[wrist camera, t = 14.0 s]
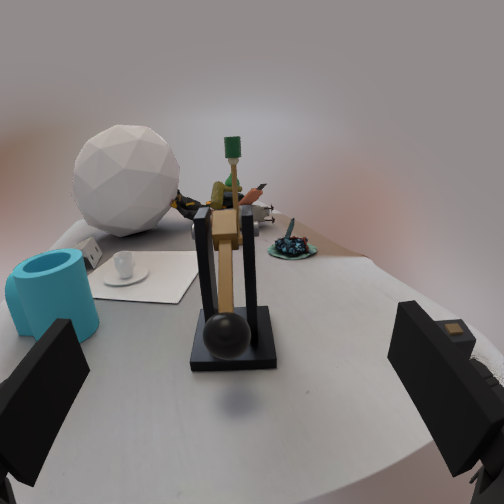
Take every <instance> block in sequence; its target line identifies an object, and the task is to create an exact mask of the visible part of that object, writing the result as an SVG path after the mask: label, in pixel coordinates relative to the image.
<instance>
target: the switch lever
mask: <svg viewBox="0 0 504 504" xmlns="http://www.w3.org/2000/svg"><path fill="white" fill-rule="evenodd" d="M212 240H213V245H214V250H215V251H219V284H218V299H219V313H217V314H215V315H213V316H212V317H211V318H210V319H209V320H208V321H207V322H206V324H205V326H204V328H203V334H202V338H203V343H204V345H205V347H206V349H207V350H208V351H209V352H210V353H211V354H212V355H213V356H215V357H217V358H220V359H224V360H230V359H234V358H237V357H239V356H241V355H242V354H243V353H244V352H245V351H246V350H247V348H248V347H249V345H250V341H251V331H250V327H249V325H248V323H247V322H246V321H245V319H244V318H243V317H241V316H240V315H238V314H236V313H234V303H233V264H232V250H238V249H239V244H238V221H237V210H221V211H213V212H212Z"/></svg>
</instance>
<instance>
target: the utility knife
mask: <svg viewBox="0 0 504 504" xmlns="http://www.w3.org/2000/svg"><path fill="white" fill-rule="evenodd" d="M264 186H266V184H261V185H260V186H259V187H258V188H253V189H251V190H250V191H249V192H248V193H247V194H246V195H245V196H244V197H243V198H242V199H241V201H240V202H239V203H238V206H241V205H251V204H252V203H253V202H255V201H256V200H257V199H258V198H259V196H260V195H262V194H263V192H262V189H263V188H264Z"/></svg>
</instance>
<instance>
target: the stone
mask: <svg viewBox="0 0 504 504" xmlns="http://www.w3.org/2000/svg"><path fill="white" fill-rule="evenodd" d="M243 197H244V195H243V194H240V193H238V203H239V202H240V201H241V199H242V198H243ZM222 204H223V206H232V205H233V193H232V192H224V195H223V203H222Z"/></svg>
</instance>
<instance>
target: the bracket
mask: <svg viewBox="0 0 504 504" xmlns="http://www.w3.org/2000/svg"><path fill="white" fill-rule="evenodd" d="M95 247H96V248H97V251H98V252H97V251H96V249H95ZM70 249H78V250H80V251H81V252H82V255H83V257H87V258H88V260H89V261H90V263H91V265H92V267H93V268H94V269H95V267H96V265H97V263H98V261H99V259H100V257H101V255H102V252H101V250H100V248H99V247H98V245H97V243H96V241H95V239H94V237H93V236H91V237H89V238H88V239H86V240H84V241H82V242H80V243H78V244H76V245H75V246H73V247H71V248H70ZM90 254H91V255H92V257H93V260H92V259H91V257H90Z"/></svg>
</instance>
